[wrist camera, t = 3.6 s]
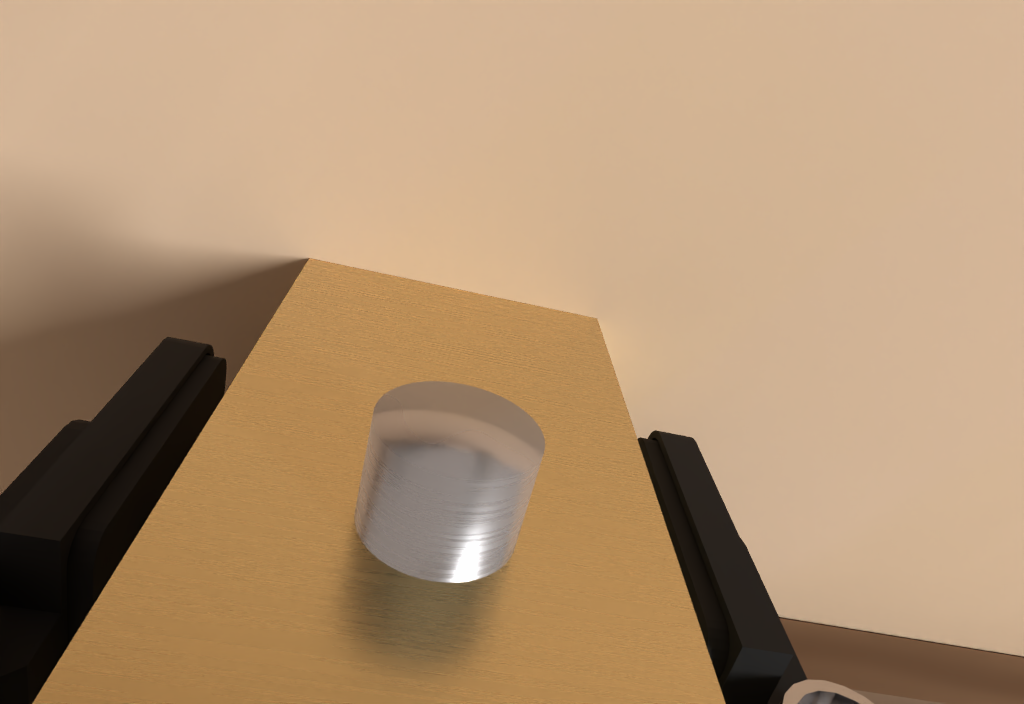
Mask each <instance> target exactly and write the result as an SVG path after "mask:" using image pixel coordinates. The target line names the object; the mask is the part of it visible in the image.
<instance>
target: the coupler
mask: <svg viewBox="0 0 1024 704" xmlns="http://www.w3.org/2000/svg"><path fill="white" fill-rule="evenodd" d="M32 704H726V703H725V700H724V697H723V694H722V691H721V688H720V685H719V682H718V679H717V676H716V673H715V670H714V667H713V664H712V661H711V658H710V655H709V652H708V649H707V646H706V643H705V640H704V637H703V634H702V631H701V628H700V625H699V622H698V619H697V616H696V613H695V610H694V607H693V604H692V601H691V598H690V595H689V592H688V589H687V586H686V583H685V580H684V577H683V574H682V571H681V568H680V565H679V562H678V559H677V556H676V553H675V550H674V548H673V545H672V542H671V539H670V536H669V533H668V530H667V527H666V524H665V521H664V518H663V515H662V512H661V509H660V506H659V503H658V500H657V497H656V494H655V491H654V488H653V485H652V482H651V479H650V476H649V473H648V470H647V467H646V464H645V461H644V458H643V455H642V452H641V449H640V446H639V443H638V440H637V437H636V434H635V431H634V428H633V425H632V422H631V419H630V416H629V413H628V410H627V407H626V404H625V401H624V398H623V395H622V392H621V389H620V386H619V383H618V380H617V377H616V374H615V371H614V368H613V365H612V362H611V359H610V356H609V353H608V350H607V347H606V344H605V341H604V338H603V335H602V332H601V329H600V326H599V323H598V320H597V318H592V317H587V316H583V315H578V314H573V313H568V312H563V311H559V310H554V309H549V308H544V307H540V306H535V305H530V304H525V303H521V302H516V301H511V300H506V299H501V298H497V297H492V296H487V295H482V294H478V293H473V292H468V291H463V290H459V289H454V288H449V287H444V286H439V285H435V284H430V283H425V282H420V281H416V280H411V279H406V278H401V277H397V276H392V275H387V274H382V273H378V272H373V271H368V270H363V269H358V268H354V267H349V266H344V265H339V264H335V263H330V262H325V261H320V260H316V259H311V258H309V260H308V261H307V263H306V264H305V266H304V268H303V269H302V271H301V272H300V274H299V276H298V277H297V279H296V280H295V282H294V284H293V285H292V287H291V288H290V290H289V292H288V293H287V295H286V297H285V298H284V300H283V301H282V303H281V305H280V306H279V308H278V309H277V311H276V313H275V314H274V316H273V317H272V319H271V321H270V322H269V324H268V325H267V327H266V329H265V330H264V332H263V333H262V335H261V337H260V338H259V340H258V342H257V343H256V345H255V346H254V348H253V350H252V351H251V353H250V354H249V356H248V358H247V359H246V361H245V362H244V364H243V366H242V367H241V369H240V370H239V372H238V374H237V375H236V377H235V379H234V380H233V382H232V383H231V385H230V387H229V388H228V390H227V391H226V393H225V395H224V396H223V398H222V399H221V401H220V403H219V404H218V406H217V407H216V409H215V411H214V412H213V414H212V416H211V417H210V419H209V420H208V422H207V424H206V425H205V427H204V428H203V430H202V432H201V433H200V435H199V436H198V438H197V440H196V441H195V443H194V444H193V446H192V448H191V449H190V451H189V452H188V454H187V456H186V457H185V459H184V461H183V462H182V464H181V465H180V467H179V469H178V470H177V472H176V473H175V475H174V477H173V478H172V480H171V481H170V483H169V485H168V486H167V488H166V489H165V491H164V493H163V494H162V496H161V498H160V499H159V501H158V502H157V504H156V506H155V507H154V509H153V510H152V512H151V514H150V515H149V517H148V518H147V520H146V522H145V523H144V525H143V526H142V528H141V530H140V531H139V533H138V534H137V536H136V538H135V539H134V541H133V543H132V544H131V546H130V547H129V549H128V551H127V552H126V554H125V555H124V557H123V559H122V560H121V562H120V563H119V565H118V567H117V568H116V570H115V571H114V573H113V575H112V576H111V578H110V580H109V581H108V583H107V584H106V586H105V588H104V589H103V591H102V592H101V594H100V596H99V597H98V599H97V600H96V602H95V604H94V605H93V607H92V608H91V610H90V612H89V613H88V615H87V617H86V618H85V620H84V621H83V623H82V625H81V626H80V628H79V629H78V631H77V633H76V634H75V636H74V637H73V639H72V641H71V642H70V644H69V645H68V647H67V649H66V650H65V652H64V653H63V655H62V657H61V658H60V660H59V662H58V663H57V665H56V666H55V668H54V670H53V671H52V673H51V674H50V676H49V678H48V679H47V681H46V682H45V684H44V686H43V687H42V689H41V690H40V692H39V694H38V695H37V697H36V699H35V700H34V702H33V703H32Z"/></svg>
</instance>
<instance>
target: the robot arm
mask: <svg viewBox="0 0 1024 704" xmlns="http://www.w3.org/2000/svg"><path fill="white" fill-rule="evenodd" d="M225 380H226V360H225V359H224V358H219V357H214V352H213V347H212V346H211V345H208V344H202V343H197V342H192V341H187V340H182V339H176V338H171V337H167V338H166V339H164V340H163V341H162V342H161V344H160V345H159V346H158V347H157V348H156V349H155V350H154V351H153V353H152V354H151V355H150V356H149V357H148V358H147V359H146V360H145V362H144V363H143V364H142V365H141V366H140V367H139V368H138V369H137V371H136V372H135V373H134V374H133V375H132V376H131V377H130V378H129V380H128V381H127V382H126V383H125V384H124V385H123V386H122V388H121V389H120V390H119V391H118V392H117V393H116V394H115V395H114V397H113V398H112V399H111V400H110V401H109V402H108V403H107V404H106V406H105V407H104V408H103V409H102V410H101V411H100V412H99V413H98V415H97V416H96V417H95V418H94V419H93V420H92V421H91V422H89V421H83V420H75V421H71V422H70V423H69V424H68V425H66V426H65V427H64V428H63V429H62V430H61V431H60V432H59V433H58V434H57V435H56V436H55V438H54V439H53V440H52V441H51V442H50V443H49V444H48V445H47V446H46V447H45V448H44V449H43V450H42V451H41V453H40V454H39V455H38V456H37V457H36V458H35V459H34V460H33V461H32V462H31V463H30V464H29V465H28V466H27V467H26V469H25V470H24V471H23V472H22V473H21V474H20V475H19V476H18V477H17V478H16V479H15V480H14V481H13V482H12V484H11V485H10V486H9V487H8V488H7V489H6V490H5V491H4V492H3V493H2V494H1V495H0V704H32V703H33V702H34V700H35V699H36V697H37V695H38V694H39V692H40V690H41V689H42V687H43V686H44V684H45V682H46V681H47V679H48V678H49V676H50V674H51V673H52V671H53V670H54V668H55V666H56V665H57V663H58V662H59V660H60V658H61V657H62V655H63V653H64V652H65V650H66V649H67V647H68V645H69V644H70V642H71V641H72V639H73V637H74V636H75V634H76V633H77V631H78V629H79V628H80V626H81V625H82V623H83V621H84V620H85V618H86V617H87V615H88V613H89V612H90V610H91V608H92V607H93V605H94V604H95V602H96V600H97V599H98V597H99V596H100V594H101V592H102V591H103V589H104V588H105V586H106V584H107V583H108V581H109V580H110V578H111V576H112V575H113V573H114V571H115V570H116V568H117V567H118V565H119V563H120V562H121V560H122V559H123V557H124V555H125V554H126V552H127V551H128V549H129V547H130V546H131V544H132V543H133V541H134V539H135V538H136V536H137V534H138V533H139V531H140V530H141V528H142V526H143V525H144V523H145V522H146V520H147V518H148V517H149V515H150V514H151V512H152V510H153V509H154V507H155V506H156V504H157V502H158V501H159V499H160V498H161V496H162V494H163V493H164V491H165V489H166V488H167V486H168V485H169V483H170V481H171V480H172V478H173V477H174V475H175V473H176V472H177V470H178V469H179V467H180V465H181V464H182V462H183V461H184V459H185V457H186V456H187V454H188V452H189V451H190V449H191V448H192V446H193V444H194V443H195V441H196V440H197V438H198V436H199V435H200V433H201V432H202V430H203V428H204V427H205V425H206V424H207V422H208V420H209V419H210V417H211V416H212V414H213V412H214V411H215V409H216V407H217V406H218V404H219V403H220V401H221V399H222V398H223V396H224V391H225ZM637 440H638V443H639V446H640V449H641V452H642V455H643V458H644V461H645V464H646V467H647V470H648V473H649V476H650V479H651V482H652V485H653V488H654V491H655V494H656V497H657V500H658V503H659V506H660V509H661V512H662V515H663V518H664V521H665V524H666V527H667V530H668V533H669V536H670V539H671V542H672V545H673V548H674V550H675V553H676V556H677V559H678V562H679V565H680V568H681V571H682V574H683V577H684V580H685V583H686V586H687V589H688V592H689V595H690V598H691V601H692V604H693V607H694V610H695V613H696V616H697V619H698V622H699V625H700V628H701V631H702V634H703V637H704V640H705V643H706V646H707V649H708V652H709V655H710V658H711V661H712V664H713V667H714V670H715V673H716V676H717V679H718V682H719V685H720V688H721V691H722V694H723V697H724V700H725V703H726V704H874V703H872V702H871V701H870V700H868V699H867V698H866V697H864V696H862V695H860V694H858V693H857V692H855V691H853V690H851V689H849V688H847V687H845V686H842V685H839V684H835V683H832V682H829V681H825V680H808V679H807V677H806V675H805V673H804V670H803V668H802V666H801V664H800V662H799V660H798V657H797V655H796V653H795V651H794V649H793V647H792V644H791V642H790V640H789V638H788V636H787V634H786V631H785V629H784V627H783V625H782V623H781V621H780V619H779V616H778V614H777V612H776V610H775V608H774V606H773V603H772V601H771V599H770V597H769V595H768V593H767V590H766V588H765V586H764V584H763V582H762V580H761V577H760V575H759V573H758V571H757V569H756V567H755V565H754V562H753V560H752V558H751V556H750V554H749V552H748V549H747V547H746V545H745V544H744V542H743V541H742V539H741V538H740V537H739V535H738V533H737V530H736V528H735V526H734V524H733V522H732V520H731V517H730V515H729V513H728V511H727V509H726V506H725V504H724V502H723V500H722V498H721V496H720V493H719V491H718V489H717V487H716V485H715V483H714V480H713V478H712V476H711V474H710V472H709V469H708V467H707V465H706V463H705V461H704V459H703V456H702V454H701V452H700V450H699V448H698V445H697V443H696V441H695V440H694V439H693V438H691V437H687V436H682V435H676V434H671V433H666V432H661V431H653V432H652V433H651V434H650V436H649V437H648V439H645V438H638V439H637Z"/></svg>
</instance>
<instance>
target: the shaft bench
mask: <svg viewBox="0 0 1024 704" xmlns="http://www.w3.org/2000/svg"><path fill="white" fill-rule="evenodd" d="M779 619H780V621H781V623H782V625H783V627H784V629H785V631H786V634H787V636H788V638H789V640H790V642H791V644H792V647H793V649H794V651H795V653H796V655H797V657H798V660H799V662H800V664H801V666H802V668H803V670H804V673H805V675H806V677H807V679H808V680H825V681H829V682H832V683H835V684H839V685H842V686H845V687H847V688H849V689H851V690H853V691H855V692H857V693H858V694H860V695H862V696H864V697H866V698H867V699H868V700H870V701H871V702H872V703H874V704H1024V658H1023V657H1017V656H1011V655H1005V654H998V653H992V652H986V651H980V650H974V649H968V648H961V647H955V646H949V645H943V644H937V643H930V642H924V641H918V640H912V639H906V638H899V637H893V636H887V635H881V634H875V633H869V632H862V631H856V630H850V629H844V628H838V627H831V626H825V625H819V624H813V623H807V622H800V621H794V620H788V619H782V618H779Z"/></svg>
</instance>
